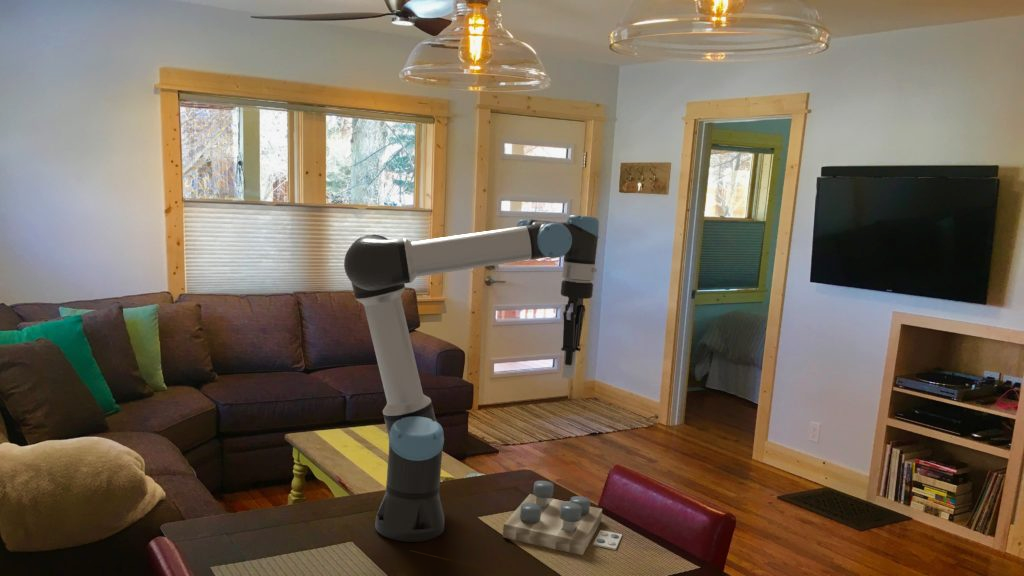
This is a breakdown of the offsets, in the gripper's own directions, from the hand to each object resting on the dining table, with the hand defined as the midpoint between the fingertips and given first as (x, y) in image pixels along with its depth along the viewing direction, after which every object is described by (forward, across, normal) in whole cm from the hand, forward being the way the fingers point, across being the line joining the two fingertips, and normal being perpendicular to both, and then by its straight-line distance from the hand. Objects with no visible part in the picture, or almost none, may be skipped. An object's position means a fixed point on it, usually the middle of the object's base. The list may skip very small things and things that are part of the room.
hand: (568, 377), depth 181 cm
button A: (+32, -18, +2) cm, 37 cm away
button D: (+32, -8, -7) cm, 34 cm away
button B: (+30, -8, +2) cm, 31 cm away
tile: (+32, -13, -16) cm, 38 cm away
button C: (+30, -18, -8) cm, 36 cm away
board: (+32, -13, -3) cm, 35 cm away
